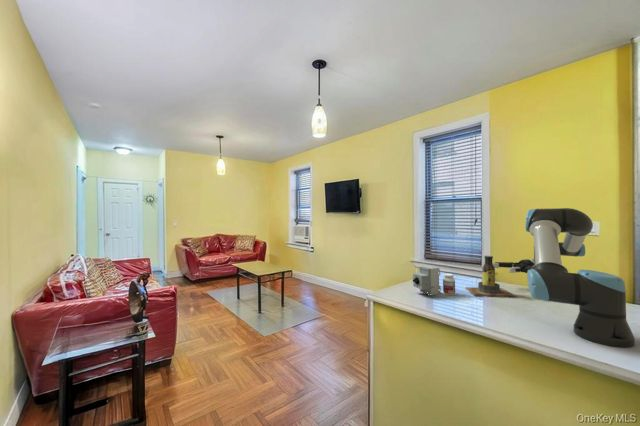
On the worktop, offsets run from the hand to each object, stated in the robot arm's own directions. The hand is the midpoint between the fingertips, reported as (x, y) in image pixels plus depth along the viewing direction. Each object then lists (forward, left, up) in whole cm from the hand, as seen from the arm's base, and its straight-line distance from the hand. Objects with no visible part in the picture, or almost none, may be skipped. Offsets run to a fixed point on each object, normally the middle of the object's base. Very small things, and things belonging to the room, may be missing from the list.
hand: (499, 268), depth 153 cm
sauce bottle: (-7, +2, -13) cm, 15 cm away
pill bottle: (-26, +14, -14) cm, 33 cm away
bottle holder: (-7, +2, -14) cm, 16 cm away
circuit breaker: (-36, +22, -14) cm, 45 cm away
